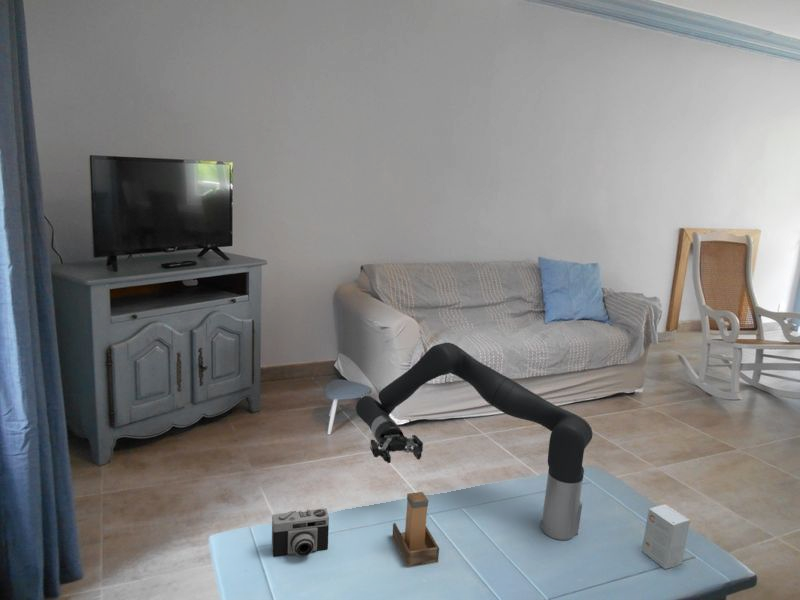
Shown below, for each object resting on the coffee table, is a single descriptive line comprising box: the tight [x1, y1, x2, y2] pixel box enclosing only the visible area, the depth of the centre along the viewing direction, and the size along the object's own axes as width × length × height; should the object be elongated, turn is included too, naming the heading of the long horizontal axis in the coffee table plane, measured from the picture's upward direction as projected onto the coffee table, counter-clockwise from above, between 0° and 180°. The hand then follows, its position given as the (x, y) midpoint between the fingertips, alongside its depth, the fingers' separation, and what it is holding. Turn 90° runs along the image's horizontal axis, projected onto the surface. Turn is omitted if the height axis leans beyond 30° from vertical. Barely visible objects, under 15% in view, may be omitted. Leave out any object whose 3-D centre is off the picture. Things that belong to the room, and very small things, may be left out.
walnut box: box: [392, 522, 440, 568], centre depth 157 cm, size 8×13×4 cm, turn 18°
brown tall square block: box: [404, 491, 429, 551], centre depth 156 cm, size 4×4×14 cm
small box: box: [641, 503, 691, 570], centre depth 158 cm, size 8×6×13 cm
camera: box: [271, 507, 330, 558], centre depth 152 cm, size 14×8×10 cm, turn 107°
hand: (404, 458), depth 164 cm, fingers open, 8 cm apart
